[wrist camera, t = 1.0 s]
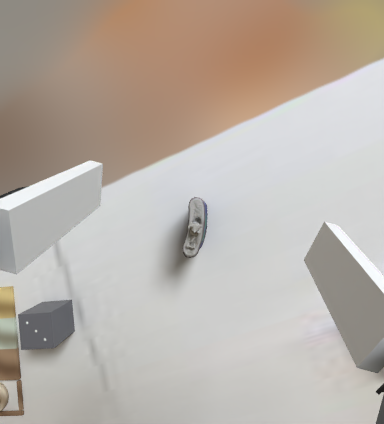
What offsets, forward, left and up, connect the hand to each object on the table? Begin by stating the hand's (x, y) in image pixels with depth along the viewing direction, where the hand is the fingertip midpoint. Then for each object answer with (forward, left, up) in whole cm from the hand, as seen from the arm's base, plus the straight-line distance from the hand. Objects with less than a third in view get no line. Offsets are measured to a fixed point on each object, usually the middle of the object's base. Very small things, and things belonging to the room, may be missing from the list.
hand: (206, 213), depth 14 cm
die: (-17, +32, -30) cm, 47 cm away
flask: (-2, +3, -30) cm, 30 cm away
